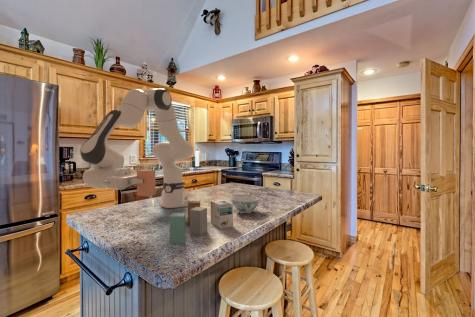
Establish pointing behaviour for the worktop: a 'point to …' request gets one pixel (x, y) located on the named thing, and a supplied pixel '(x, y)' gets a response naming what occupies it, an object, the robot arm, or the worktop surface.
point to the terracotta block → (146, 183)
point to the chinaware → (245, 203)
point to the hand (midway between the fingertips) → (148, 180)
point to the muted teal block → (177, 228)
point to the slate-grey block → (198, 220)
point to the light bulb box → (222, 213)
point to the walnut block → (192, 205)
